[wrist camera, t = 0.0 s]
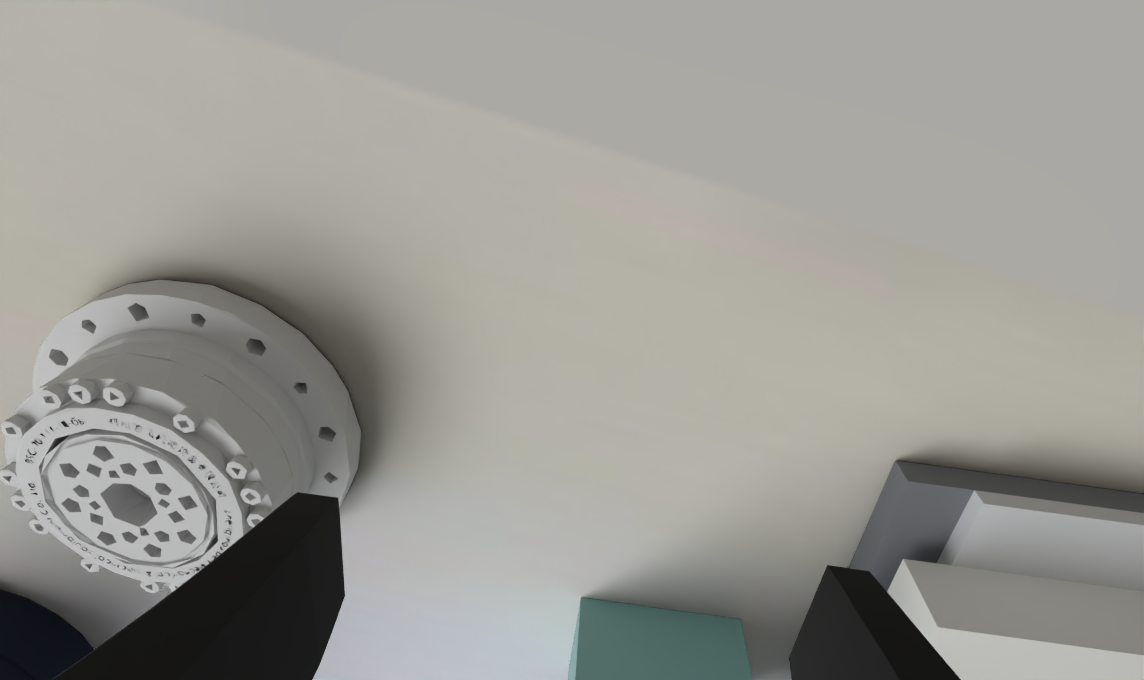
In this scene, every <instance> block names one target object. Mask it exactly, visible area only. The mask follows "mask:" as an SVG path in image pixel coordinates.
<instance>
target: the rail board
mask: <svg viewBox="0 0 1144 680" xmlns="http://www.w3.org/2000/svg"><path fill="white" fill-rule="evenodd" d="M849 568H850V569H858V570H865V571H869V572H870V573H871V574H872V575H873V576H874V577H875V578H876V580H877V581H878V582H879V583H880V584H881V585H882V586H883V588H884V589H885V590H886V591H887V592H888V594H889V595H890V596H891V597H892V598H893V599H894V601H895V602H896V603H897V604H898V605H899V607H900V608H901V609H902V610H903V611H904V613H905V614H906V615H907V616H908V617H909V619H910V620H911V621H912V622H913V623H914V625H915V626H916V627H917V628H918V629H919V631H920V632H921V633H922V634H923V635H924V637H925V638H926V639H927V640H928V641H929V643H930V644H931V645H932V646H933V647H934V649H935V650H936V651H937V652H938V653H939V655H940V656H941V657H942V658H943V659H944V660H945V662H946V663H947V664H948V665H949V666H950V668H951V669H952V670H953V671H954V672H955V673H956V675H957V676H958V677H959V678H960V679H961V680H1144V494H1139V493H1132V492H1125V491H1117V490H1110V489H1102V488H1095V487H1088V486H1080V485H1073V484H1065V483H1058V482H1051V481H1043V480H1036V479H1028V478H1021V477H1014V476H1006V475H999V474H991V473H984V472H977V471H969V470H962V469H954V468H947V467H940V466H932V465H925V464H917V463H910V462H903V461H895V463H894V465H893V468H892V470H891V472H890V474H889V477H888V479H887V481H886V484H885V486H884V488H883V491H882V493H881V495H880V497H879V500H878V502H877V504H876V507H875V509H874V511H873V514H872V516H871V518H870V521H869V523H868V525H867V527H866V530H865V532H864V534H863V537H862V539H861V541H860V544H859V546H858V548H857V550H856V553H855V555H854V557H853V560H852V562H851V564H850V567H849Z"/></svg>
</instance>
